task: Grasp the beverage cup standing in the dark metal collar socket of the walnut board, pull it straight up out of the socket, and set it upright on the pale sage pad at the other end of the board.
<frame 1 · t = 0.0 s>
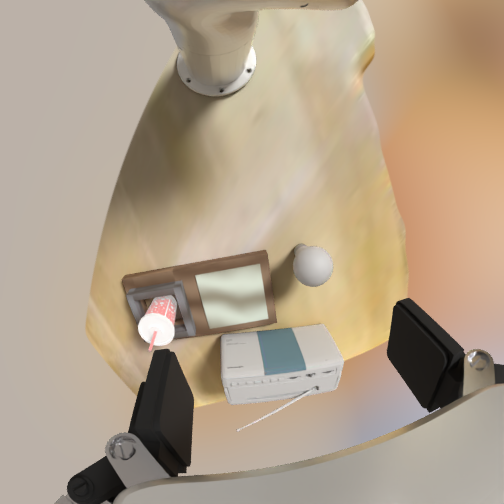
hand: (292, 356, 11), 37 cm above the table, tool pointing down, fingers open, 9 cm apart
stereo radio cassette player: (272, 339, 56), on the table
socket board: (200, 298, 50), on the table
lightbulb: (299, 248, 49), on the table
beverage cup: (165, 303, 50), resting in socket board
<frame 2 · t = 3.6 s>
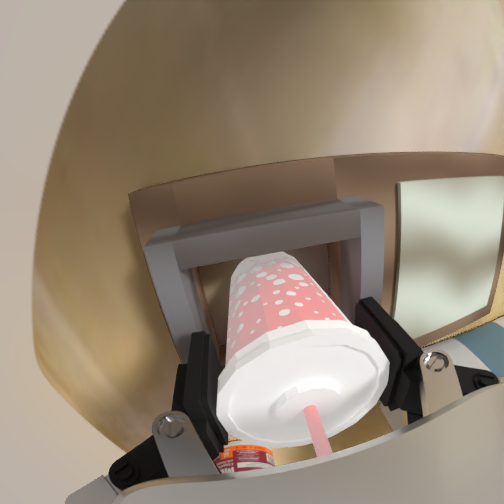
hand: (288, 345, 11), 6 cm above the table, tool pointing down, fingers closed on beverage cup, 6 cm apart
stereo radio cassette player: (455, 350, 22), on the table
socket board: (374, 264, 17), on the table
beverage cup: (268, 284, 17), resting in socket board, touching gripper
pill bottle: (241, 450, 23), on the table
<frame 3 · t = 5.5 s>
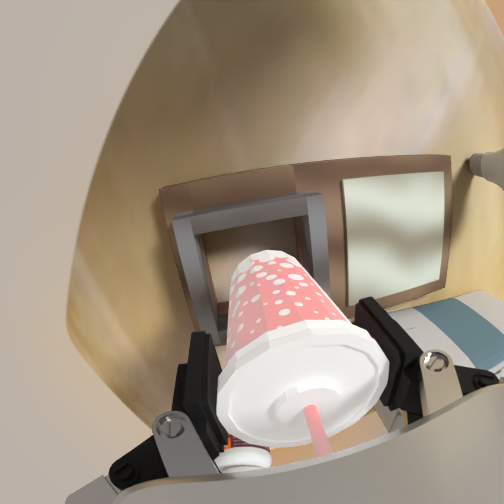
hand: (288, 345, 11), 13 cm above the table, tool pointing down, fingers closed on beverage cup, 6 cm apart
stereo radio cassette player: (419, 323, 29), on the table
socket board: (332, 241, 24), on the table
lightbulb: (469, 163, 23), on the table
beverage cup: (268, 284, 17), point 7 cm above the table, touching gripper
pill bottle: (236, 408, 30), on the table
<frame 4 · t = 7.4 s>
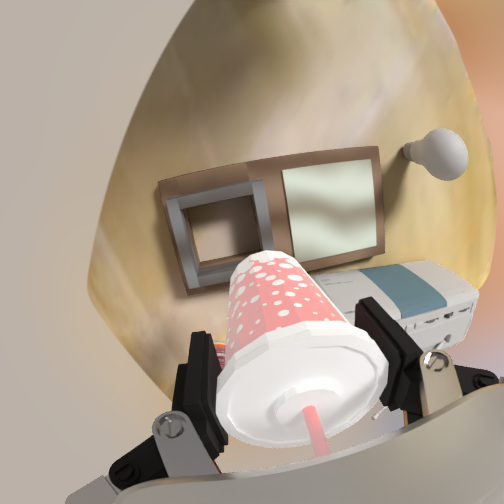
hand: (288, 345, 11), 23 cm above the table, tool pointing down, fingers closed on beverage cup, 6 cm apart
stereo radio cassette player: (370, 286, 38), on the table
socket board: (281, 215, 33), on the table
lightbulb: (405, 151, 32), on the table
beverage cup: (267, 285, 17), point 17 cm above the table, touching gripper
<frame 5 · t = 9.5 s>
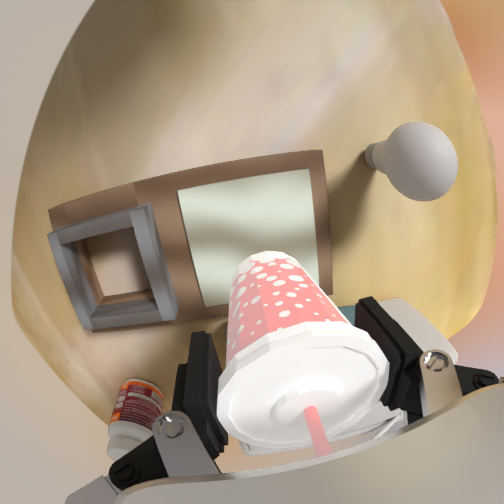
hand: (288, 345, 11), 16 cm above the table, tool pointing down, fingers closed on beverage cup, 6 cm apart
stereo radio cassette player: (317, 329, 31), on the table
socket board: (188, 245, 26), on the table
lightbulb: (370, 155, 25), on the table
beverage cup: (268, 285, 17), point 10 cm above the table, touching gripper
pill bottle: (143, 391, 32), on the table
when the fingers open (9 cm above the table, at t = 11.3 s): beverage cup stays where it is, resting on socket board.
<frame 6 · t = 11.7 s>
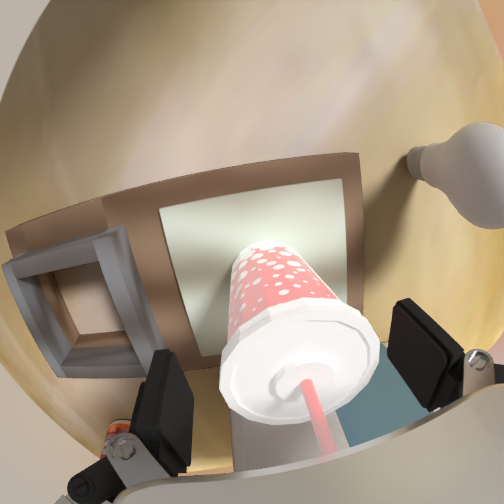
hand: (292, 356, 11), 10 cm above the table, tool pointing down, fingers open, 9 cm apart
stereo radio cassette player: (337, 369, 25), on the table
socket board: (178, 278, 20), on the table
lightbulb: (411, 161, 18), on the table
beverage cup: (267, 273, 18), point 2 cm above the table, touching socket board
pill bottle: (134, 431, 26), on the table
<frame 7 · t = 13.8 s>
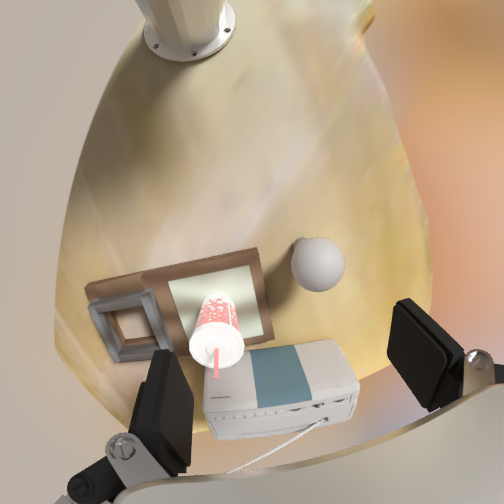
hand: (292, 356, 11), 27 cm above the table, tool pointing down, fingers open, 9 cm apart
stereo radio cassette player: (271, 359, 44), on the table
socket board: (178, 310, 40), on the table
lightbulb: (300, 244, 39), on the table
beverage cup: (218, 308, 38), point 2 cm above the table, touching socket board
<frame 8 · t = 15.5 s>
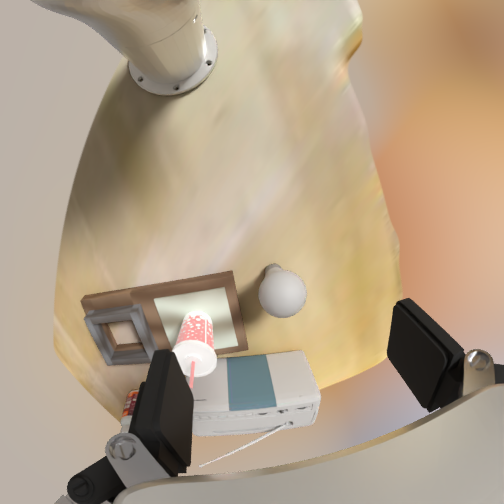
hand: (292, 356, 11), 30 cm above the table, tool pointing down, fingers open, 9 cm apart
stereo radio cassette player: (246, 365, 49), on the table
socket board: (163, 321, 44), on the table
lightbulb: (272, 268, 43), on the table
beverage cup: (197, 322, 42), point 2 cm above the table, touching socket board
pill bottle: (141, 397, 50), on the table
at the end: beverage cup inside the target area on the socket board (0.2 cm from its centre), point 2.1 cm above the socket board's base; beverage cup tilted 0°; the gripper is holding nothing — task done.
